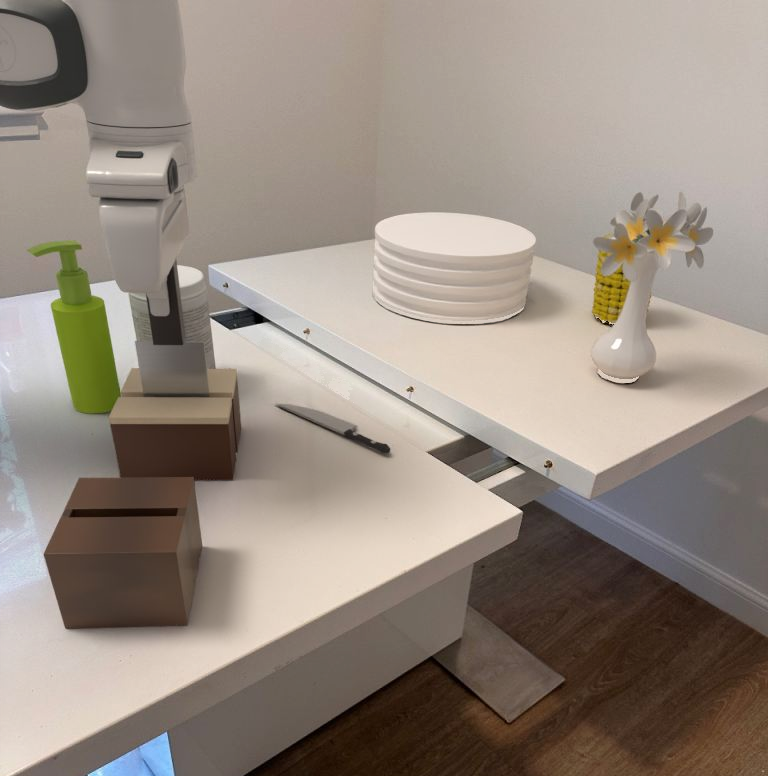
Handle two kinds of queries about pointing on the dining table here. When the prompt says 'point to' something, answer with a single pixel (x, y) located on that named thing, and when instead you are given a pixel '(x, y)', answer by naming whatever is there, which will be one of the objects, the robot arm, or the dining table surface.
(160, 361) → the knife
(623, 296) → the food
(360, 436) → the chef's knife
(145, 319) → the supplement tub
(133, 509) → the knife block
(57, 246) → the soap dispenser
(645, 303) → the flower vase
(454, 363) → the dining table surface
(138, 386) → the cake
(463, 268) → the plate stack
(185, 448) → the cake slice
